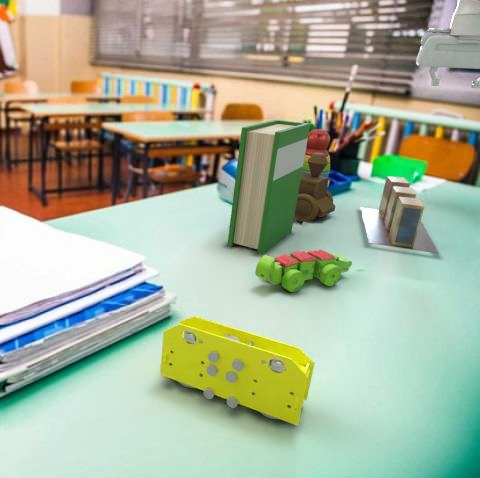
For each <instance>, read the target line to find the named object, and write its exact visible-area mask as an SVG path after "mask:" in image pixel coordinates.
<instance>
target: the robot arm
mask: <svg viewBox="0 0 480 478" xmlns="http://www.w3.org/2000/svg"><path fill="white" fill-rule="evenodd" d="M415 63H416V65H417V67H425V68H426V67H428V68H429V70H428V71H429V76H430V78H431V82H430V86H431V87H439V85H440V82H441V78H438V77H437V75H436V73H437V72H438V71H439V68H447V69H448V68H449V69H450V68H452V69H474V70H475V69H476V70H480V0H457V6H456V9H455V11H454V12H453V14H452V19H451V22H450V26H449V28H447V27H446V28H445V27H443V28H437V27H431V28H429V29H427V30H425V31H424V32H423V33H422V35H421V39H420V48H419V51H418V53H417V56H416V60H415ZM471 88H472V89H480V76H479V77H478V78H477V79H476V80H472V83H471Z"/></svg>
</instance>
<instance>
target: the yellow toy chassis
mask: <svg viewBox="0 0 480 478" xmlns="http://www.w3.org/2000/svg"><path fill="white" fill-rule="evenodd" d="M160 360H161V361H160V373H159V375H160V376H163V377H165V378H168V379H171V380H174V381H176V382H178V383H179V384H180V385H182V386H183V387H185V388H189V389H198V390H201V391H203V396H204V397H205V398H206V399H207V400H212V399H213V398H214V396H217V397H219V398H222V399H224V400H226V404H227V406H228V407H230V408H231V409H235V408H237V407H238V405H241V406H243V407H246V408H249V409H252V410H254V411H257V412H259V413H260V415H262V416H264V417H266V418H268V419H270V420H271V419H272V420H281V421H284V422H287V423H288V424H292V425H295V426H299V423H300V419H301V415H302V409H303V405H304V401H307V400H308V396H309V391H310V388H311V387H310V386H311V381H312V377H313V372H314V367H315V362H314V360H313V359H312V358H311V357H310V356H308V354H306V353H305V351H303V350H302V348H300V346H295V345H293V344H289V343H285V342H282V341H280V340H276V339H273V338H269V337H265V336H262V335H259V334H256V333H253V332H249V331H245V330H242V329H240V328H236V327H233V326H229V325H226V324H222V323H219V322H217V321H213V320H209V319H206V318H202V317H199V316H197V315H194V316H191V317H188V318H185V319H182V320H179V322H178V324H176V325H174V326H171V327H169V328H166V329H164V330H163V336H162V348H161V359H160Z"/></svg>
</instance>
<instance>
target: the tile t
mask: <svg viewBox="0 0 480 478" xmlns="http://www.w3.org/2000/svg"><path fill="white" fill-rule="evenodd" d="M424 210H425V205H424V203H423V202H422V200H421V199H420V198H417V197H416V198H408V197H400V196H399V197H398V201H397V205H396V209H395V213H394V217H393V221H392V225H391V229H390V233H389V237H390V240H391V243H392V245H398V246H405V247H412V248H413V247H414V243H415V240H416V236H417V232H418V229H419V225H420V221H421V222H422V218H423V214H424Z"/></svg>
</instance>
